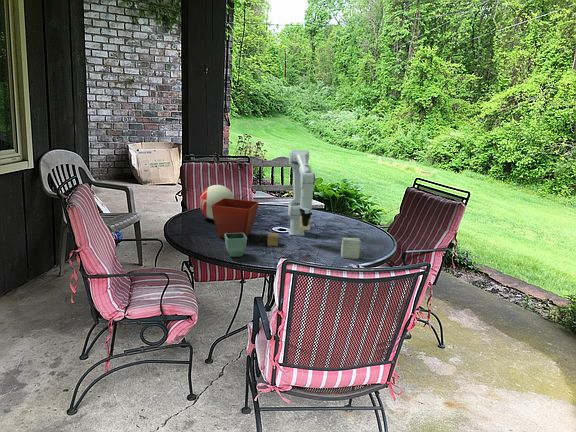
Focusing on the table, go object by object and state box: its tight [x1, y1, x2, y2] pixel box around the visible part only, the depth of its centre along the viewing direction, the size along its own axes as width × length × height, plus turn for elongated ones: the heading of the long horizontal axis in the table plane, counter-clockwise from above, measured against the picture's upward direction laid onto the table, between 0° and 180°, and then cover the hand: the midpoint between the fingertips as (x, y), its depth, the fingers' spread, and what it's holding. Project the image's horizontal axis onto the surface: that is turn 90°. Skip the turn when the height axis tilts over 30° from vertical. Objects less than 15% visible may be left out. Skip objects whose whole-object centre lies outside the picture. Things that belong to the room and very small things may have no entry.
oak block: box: [300, 216, 311, 231], centre depth 229 cm, size 4×4×6 cm
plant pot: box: [212, 198, 259, 239], centre depth 235 cm, size 19×19×17 cm
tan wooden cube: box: [267, 232, 279, 247], centre depth 226 cm, size 5×5×5 cm
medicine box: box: [340, 237, 362, 260], centre depth 214 cm, size 8×4×9 cm, turn 92°
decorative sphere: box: [198, 184, 235, 221], centre depth 264 cm, size 20×20×20 cm
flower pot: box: [224, 233, 248, 258], centre depth 206 cm, size 9×9×9 cm
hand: (304, 224), depth 229 cm, fingers closed on oak block, 4 cm apart
